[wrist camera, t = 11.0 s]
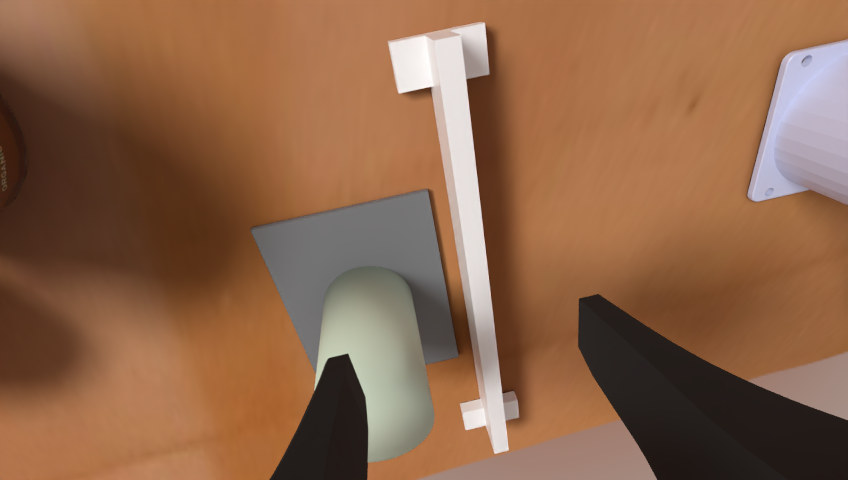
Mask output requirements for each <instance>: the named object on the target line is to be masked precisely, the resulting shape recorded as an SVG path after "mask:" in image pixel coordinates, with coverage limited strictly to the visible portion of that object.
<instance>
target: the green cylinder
mask: <svg viewBox="0 0 848 480" xmlns="http://www.w3.org/2000/svg"><path fill="white" fill-rule="evenodd" d="M344 354H349V357H350V359H351V362H352V364H353V367H354V369H355V372H356V374H357V377H358V379H359V382H360V384H361V387H362V389H363V392H364V394H365V397H366V407H367V419H368V462H378V461H384V460H388V459H392V458H395V457H398V456H400V455H403V454H405V453H407V452H409V451H410V450H412V449H414V448H415V447H416V446H418V445H419V444H420V443H421V442H422V441H423V440H424V439H425V438H426V437H427V436H428V434H429V433H430V431H431V429H432V427H433V423H434V410H433V404H432V399H431V394H430V388H429V383H428V378H427V372H426V367H425V362H424V356H423V351H422V346H421V340H420V335H419V330H418V324H417V319H416V313H415V308H414V303H413V297H412V293H411V289H410V287H409V285H408V284H407V282H406V281H405V280H404V279H403V278H402V277H401V276H400V275H398V274H397V273H395V272H394V271H391V270H389V269H386V268H383V267H377V266H363V267H357V268H354V269H351V270H348V271H346V272H344V273H343V274H341V275H340V276H338V277H337V278H336V279H335V280H334V281H333V282H332V283H331V284H330V286H329V287H328V289H327V291H326V294H325V298H324V307H323V316H322V325H321V334H320V343H319V352H318V362H317V371H316V380H315V389H316V386H317V384H318V381H319V379H320V376H321V374H322V371H323V368H324V366H325V363H326V361H327V359H328V358H331V357H335V356H339V355H344ZM315 389H314V391H315Z"/></svg>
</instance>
